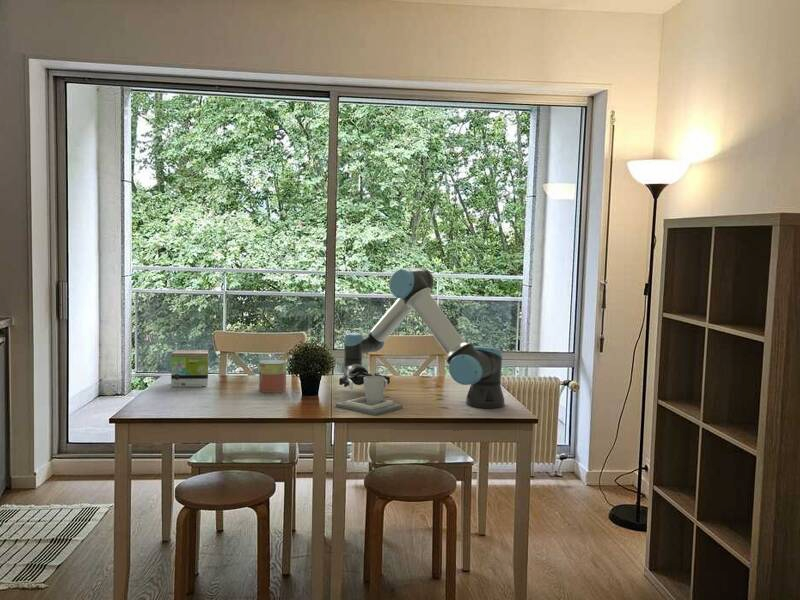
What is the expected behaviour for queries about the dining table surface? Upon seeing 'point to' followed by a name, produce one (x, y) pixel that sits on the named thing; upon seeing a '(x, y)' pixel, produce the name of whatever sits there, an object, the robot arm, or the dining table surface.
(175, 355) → the tea box
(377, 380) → the cup
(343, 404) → the grey rectangular frame
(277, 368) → the canned food
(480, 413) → the dining table surface
